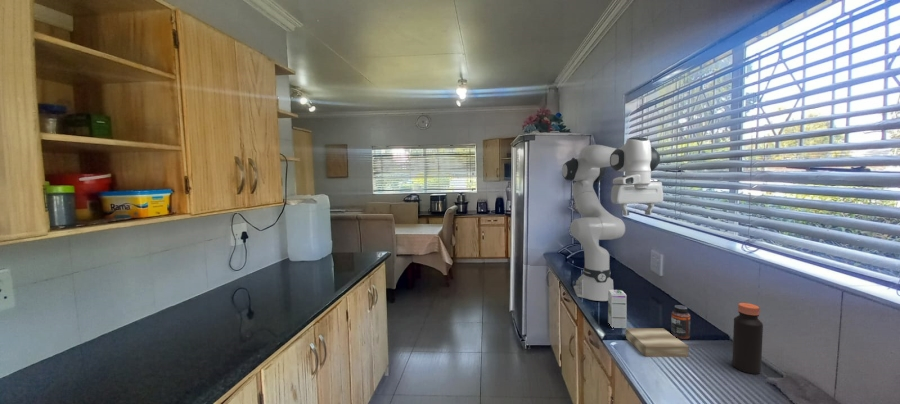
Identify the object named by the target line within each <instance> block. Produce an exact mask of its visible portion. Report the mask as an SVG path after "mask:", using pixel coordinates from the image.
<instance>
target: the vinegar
mask: <svg viewBox="0 0 900 404" xmlns="http://www.w3.org/2000/svg"><path fill="white" fill-rule="evenodd" d="M737 305H738V306H737V311H738V313H739V315H737V316H736V317H734V318H733V337H732V361H731V364H732V366H733V367H734V368H735V370H738V371H740V372H743V373H747V374H753V375H757V374H760V373H761V372H762V354H763V352H762V351H763V333H764V331H763V330H764V324H763V322H762V321H761V320H760V319H759V316H760V309H761V308H760V306H758V305H756V304H753V303H748V302H740V303H737Z"/></svg>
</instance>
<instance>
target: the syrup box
mask: <svg viewBox="0 0 900 404" xmlns="http://www.w3.org/2000/svg"><path fill="white" fill-rule="evenodd" d="M627 307H628V305H627V294H626V293H625V292H624V291H623V290H622V289H613V290H608V301H607V324H608V323H609V324H610V326H611V327H612V328H613V327H614V328H627V321H628V320H627V316H628V315H627V312H628V310H627ZM609 324H608V325H609ZM610 326H609V327H610Z"/></svg>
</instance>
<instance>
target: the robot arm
mask: <svg viewBox="0 0 900 404" xmlns="http://www.w3.org/2000/svg"><path fill="white" fill-rule="evenodd" d="M660 163H661V155H660V153H659V152H658V150H657V149H656V148H654V147H653V146H651V141H650V139H649V138H648V137H639V136H638V137H636V136H635V137H629V138H627V139H626V142H625V143H624V144H623V145H622V146H621V147H619V148H617V147H611V146H607V145H602V144H590V145H586V146H584V147H583V148H581V150H580V151H579V156H578V157H577V158H575V157H572V158H570V159H569V160H567V161H566V162H564V164H563V165H562V170H561V172H562V173H561V175H562V177H563V179H565V180H566V181H571V182H572V181H574V183H573V184H572V187H571V188H572V191H571V192H572V197H573V200H574V202H575V206H576V209H577V212H578V213H579V214H580V216H581V217H579V218H575V219H573V220H572V221H571V223H570V226H569V231H570V234H571V236H572V237H573V238H574V239H576V240H577V241H578V242H579V244H580V245H581V247H582V251H583V252H584V266H583V270H582V274H581V275H580V276H579V277H577V279H576V280H575V285H573V291H574V293H575V295H576V297H578V298H583V299H586V300H590V301H599V302H608V290H614V279H612V278H611V272H612V271H611V268H610V258H611V257H610V253H609V251H608V250H607V249H606V248H604V247H602V246H600V244H599V241H603V240H616V239H620V238H622V237H623V236H624V234H625V233H626V224H625V222H624V221H623V220H622V219H621V218H619V217H617V216H615V215H613V214H612V213H610V212H609V211H608V210H606V208H604V206H603V205H602V204H601V201H600V200H599V198H598V195H597V193H596V191H595V189H594V185H597V184H599V183H600V181H602V180H603V178H604V177H605V175H606V173H607V167H611V168H612V169H613V170H614V171H615V172H623V173H624V175H621V176H618V177H615V178H613V179H612V184H613V186H611V192H610V201H611V203H612V204H615V205H619V206H620V210H622V216H630V210H628V209H627V208H628V204H634V205H635V204H646V205H647V207H646V209H645V210H644V215H645V216H651V215H652V211H653V209H654V207H655V204H662V202H663V201H664V190H663V189H664V188H663V183H662V181H661V180H660V179H659V178H658V179H657V178H655V179H652V172H653V171H655V169H656V168H657V167H658V166H659V164H660ZM575 181H576V182H575Z"/></svg>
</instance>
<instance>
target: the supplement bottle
mask: <svg viewBox="0 0 900 404" xmlns="http://www.w3.org/2000/svg"><path fill="white" fill-rule="evenodd" d="M670 316H671V317H670V318H671V329H670V330H671V333H672V334H673V335H675V336H676V337H677V338H678V339H679V340H681V339H682V340H688V339H690V337H691V314H690V313H689V312H688V307H687V306H686V305H683V304H682V305H681V304H680V305H678V304H676V305H674V309H673V310H672V311H671V315H670Z"/></svg>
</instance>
